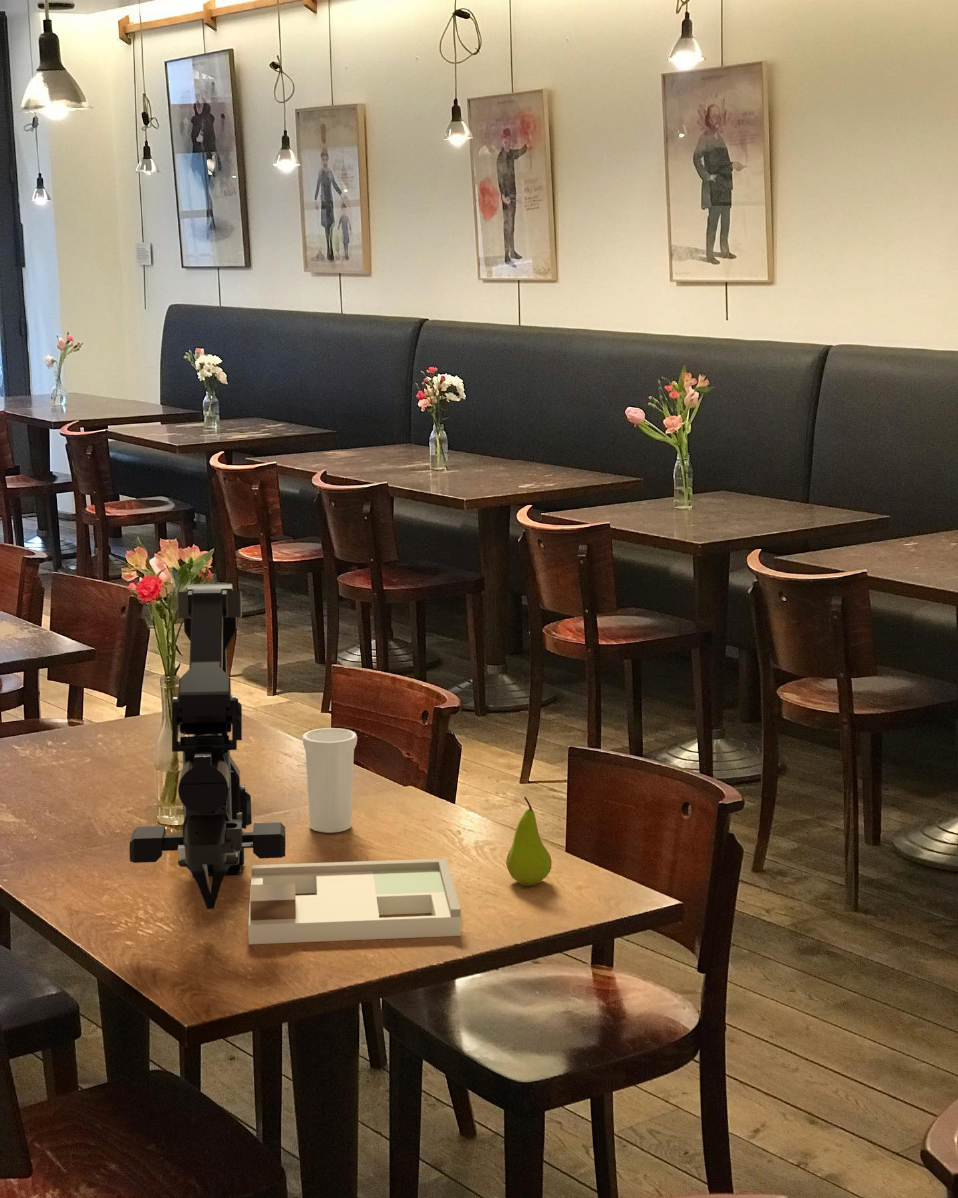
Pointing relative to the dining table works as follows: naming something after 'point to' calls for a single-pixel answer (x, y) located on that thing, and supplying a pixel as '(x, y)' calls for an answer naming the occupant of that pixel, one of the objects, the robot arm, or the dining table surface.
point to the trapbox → (361, 901)
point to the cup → (330, 778)
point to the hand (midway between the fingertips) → (210, 908)
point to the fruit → (528, 852)
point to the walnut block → (273, 901)
